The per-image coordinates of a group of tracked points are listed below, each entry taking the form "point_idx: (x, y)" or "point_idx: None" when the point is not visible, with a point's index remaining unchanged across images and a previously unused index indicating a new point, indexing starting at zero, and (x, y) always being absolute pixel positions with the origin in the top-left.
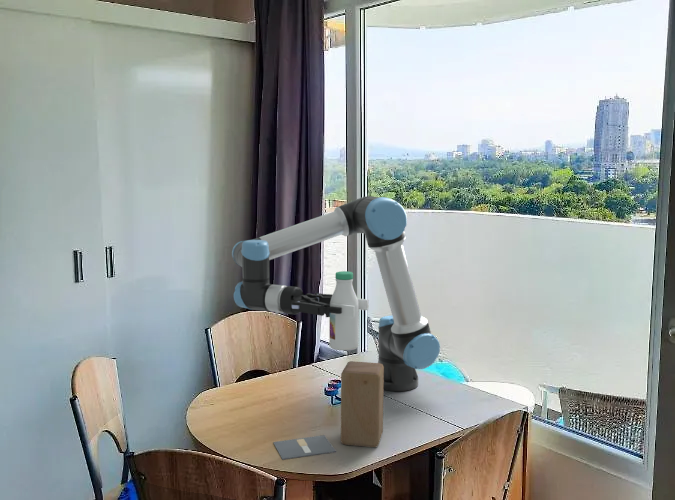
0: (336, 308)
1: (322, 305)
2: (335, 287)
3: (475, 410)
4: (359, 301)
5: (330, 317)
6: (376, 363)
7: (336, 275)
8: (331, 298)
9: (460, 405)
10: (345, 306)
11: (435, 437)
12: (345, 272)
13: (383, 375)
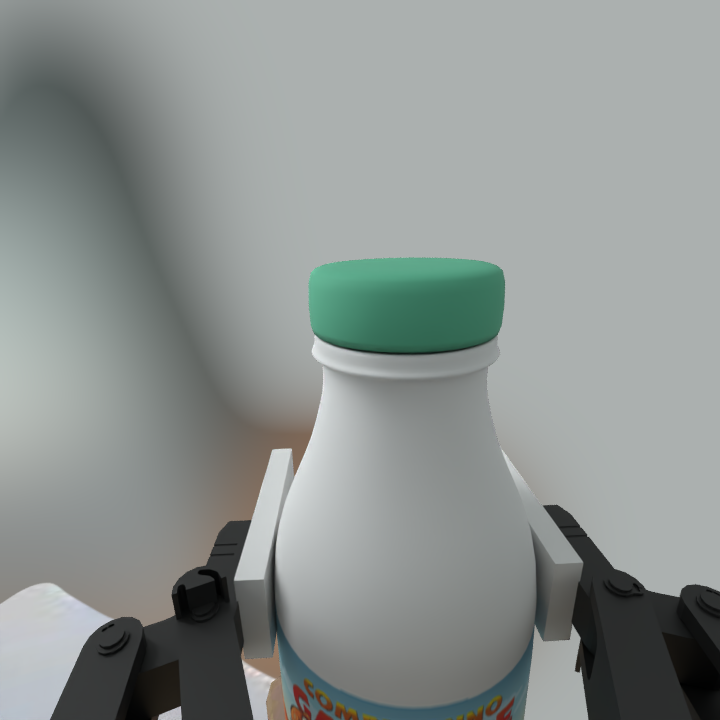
0: (576, 524)
1: (707, 593)
2: (462, 453)
3: (60, 656)
4: (286, 494)
5: (522, 712)
6: None
7: (500, 295)
8: (510, 573)
9: (10, 706)
10: (517, 476)
11: (263, 683)
12: (402, 260)
13: None
